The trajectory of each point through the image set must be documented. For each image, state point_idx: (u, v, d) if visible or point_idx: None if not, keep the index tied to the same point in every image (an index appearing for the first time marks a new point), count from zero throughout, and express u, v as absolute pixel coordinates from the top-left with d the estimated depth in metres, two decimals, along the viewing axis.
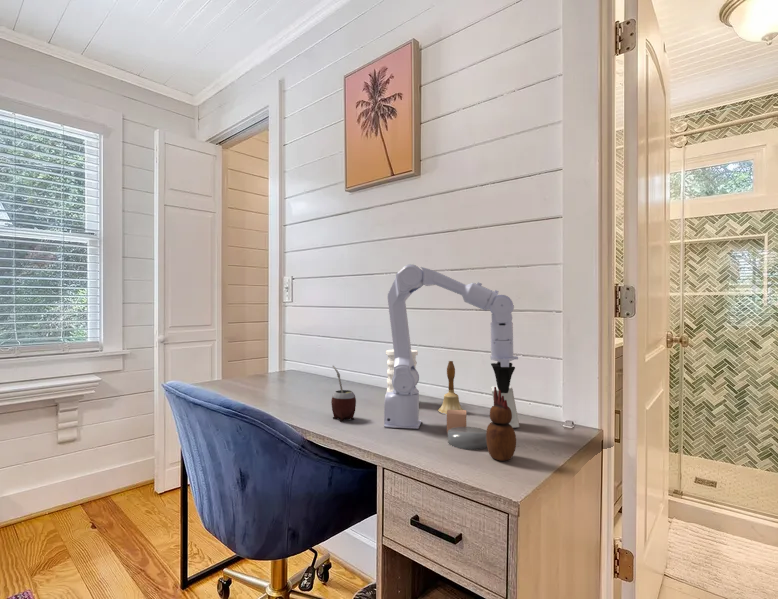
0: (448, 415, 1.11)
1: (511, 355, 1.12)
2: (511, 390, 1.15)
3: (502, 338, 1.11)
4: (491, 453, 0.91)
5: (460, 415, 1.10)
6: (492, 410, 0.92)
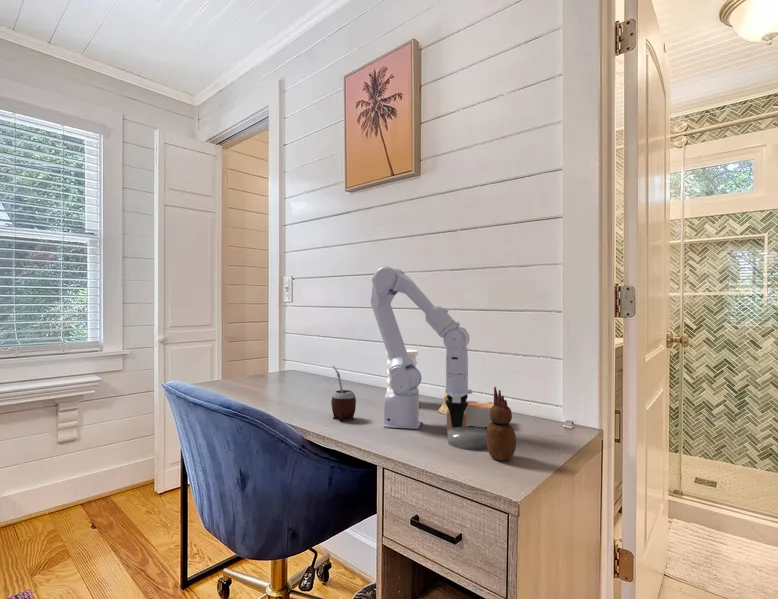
0: (448, 415, 1.11)
1: (465, 389, 1.11)
2: None
3: (454, 372, 1.11)
4: (491, 453, 0.91)
5: None
6: (492, 410, 0.92)
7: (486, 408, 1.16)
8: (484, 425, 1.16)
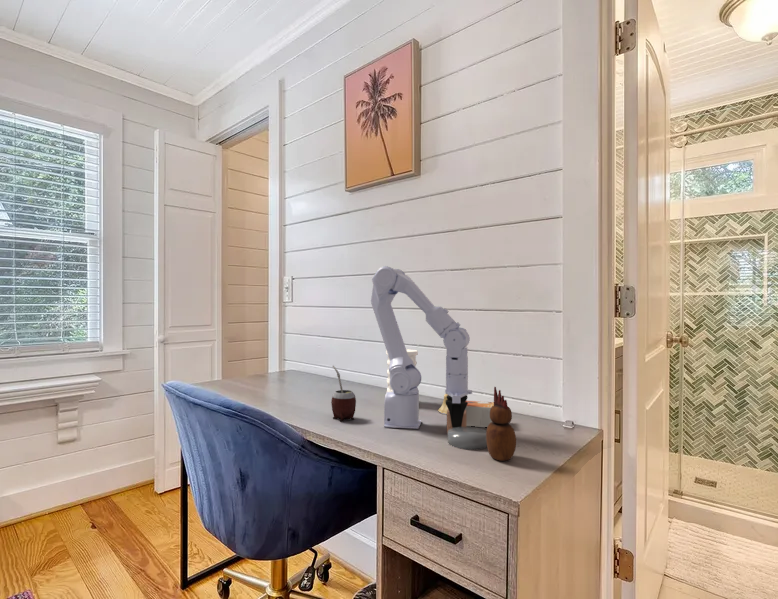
0: (448, 415, 1.11)
1: (465, 390, 1.11)
2: None
3: (454, 373, 1.11)
4: (491, 453, 0.91)
5: None
6: (492, 410, 0.92)
7: (486, 408, 1.16)
8: (484, 425, 1.16)
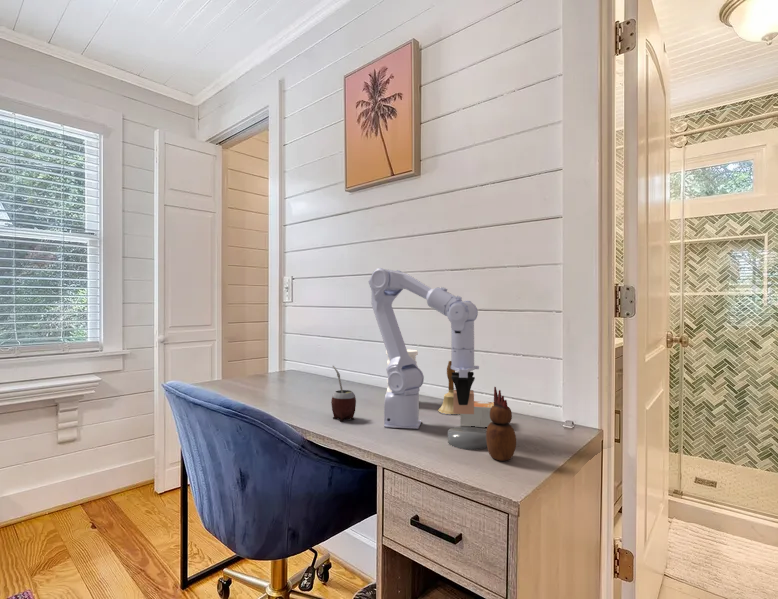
0: (455, 394, 1.06)
1: (471, 365, 1.06)
2: None
3: (457, 347, 1.06)
4: (491, 453, 0.91)
5: None
6: (492, 410, 0.92)
7: (486, 408, 1.16)
8: (484, 425, 1.16)
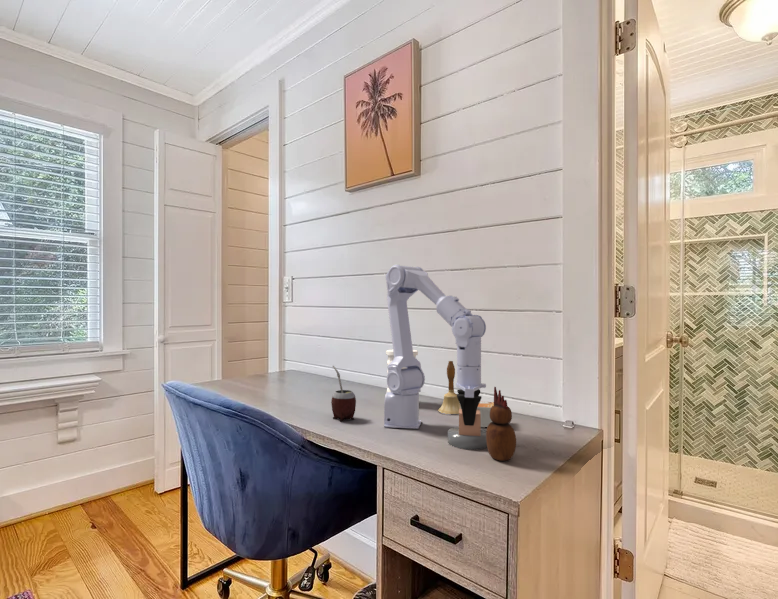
0: (460, 415, 1.01)
1: (478, 383, 1.01)
2: None
3: (461, 364, 1.01)
4: (491, 453, 0.91)
5: None
6: (492, 410, 0.92)
7: (486, 408, 1.16)
8: (484, 425, 1.16)
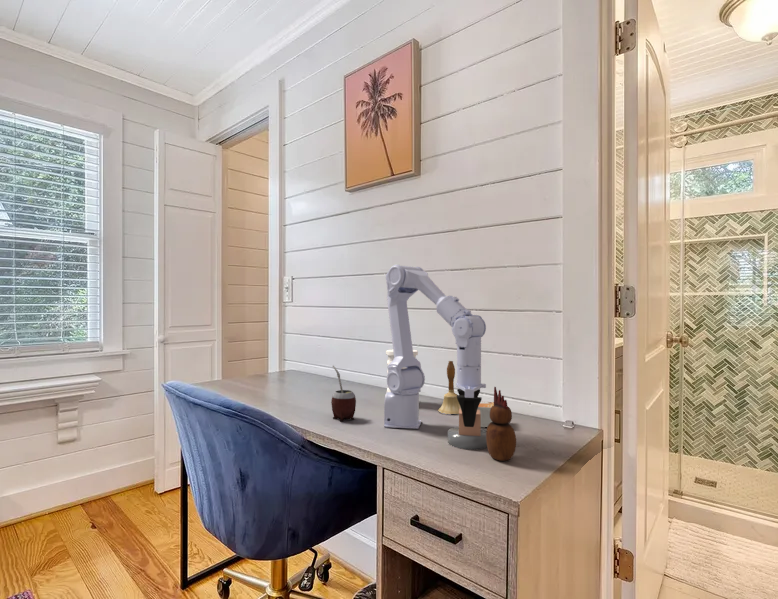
0: (460, 415, 1.01)
1: (478, 383, 1.01)
2: None
3: (461, 364, 1.01)
4: (491, 453, 0.91)
5: None
6: (492, 410, 0.92)
7: (486, 408, 1.16)
8: (484, 425, 1.16)
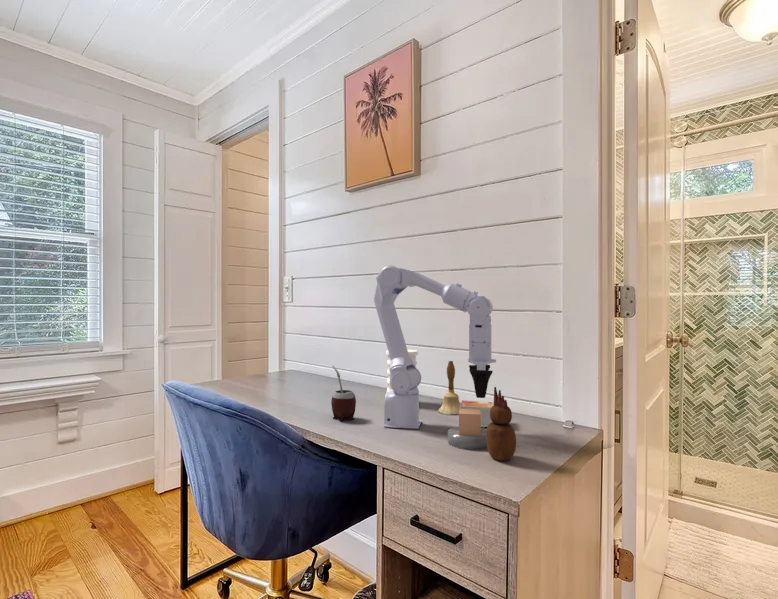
0: (460, 415, 1.01)
1: (489, 358, 1.09)
2: (462, 407, 1.18)
3: (478, 340, 1.09)
4: (491, 453, 0.91)
5: (474, 415, 1.00)
6: (492, 410, 0.92)
7: (486, 408, 1.16)
8: (484, 425, 1.16)
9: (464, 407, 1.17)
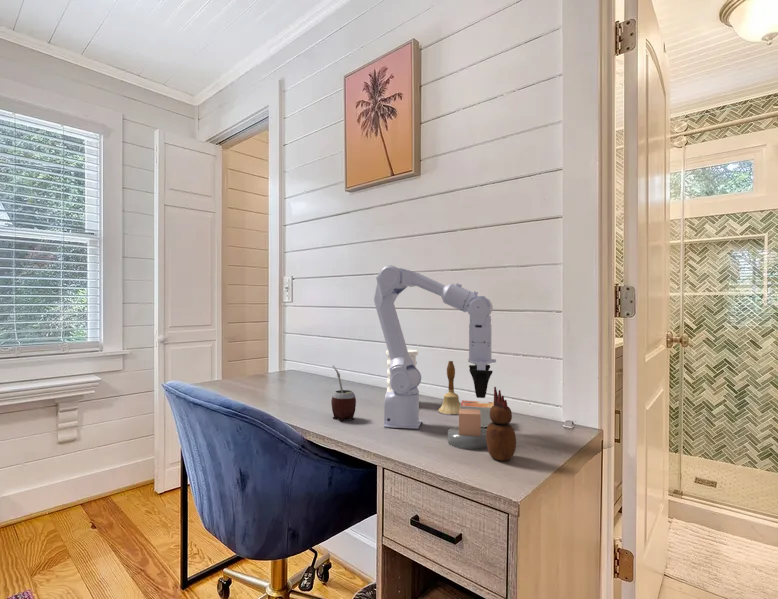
0: (460, 415, 1.01)
1: (489, 358, 1.09)
2: (462, 407, 1.18)
3: (478, 340, 1.09)
4: (491, 453, 0.91)
5: (474, 415, 1.00)
6: (492, 410, 0.92)
7: (486, 408, 1.16)
8: (484, 425, 1.16)
9: (464, 407, 1.17)
